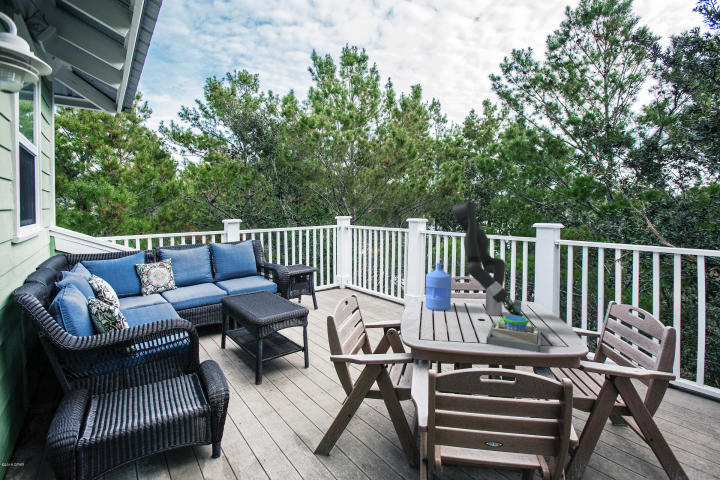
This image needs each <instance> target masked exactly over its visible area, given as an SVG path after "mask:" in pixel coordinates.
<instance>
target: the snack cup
mask: <svg viewBox="0 0 720 480" xmlns="http://www.w3.org/2000/svg"><path fill="white" fill-rule="evenodd" d="M502 321H504V323H505V328H504V329H505V330H512V331H520V332H526V331H525V329H526V326H528V323H530V325H531V327H532V328H531V331H530V333H534V332H533V327H534V325H533V323H532V321H530V320H529V319H528V318H526V317H524V316H522V317H521V316H516V315H513V314H509V315H508V314H507V315H505V316H503V317H502V318H500V319H499V321H497V322H498V329H501V327H500V323H502Z"/></svg>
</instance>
